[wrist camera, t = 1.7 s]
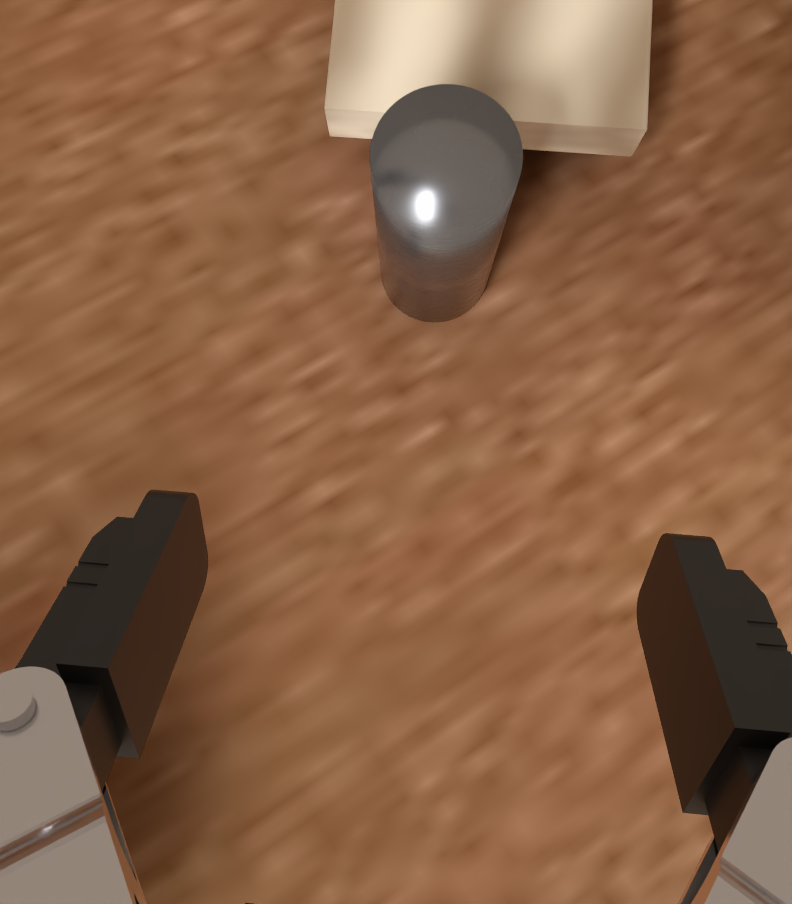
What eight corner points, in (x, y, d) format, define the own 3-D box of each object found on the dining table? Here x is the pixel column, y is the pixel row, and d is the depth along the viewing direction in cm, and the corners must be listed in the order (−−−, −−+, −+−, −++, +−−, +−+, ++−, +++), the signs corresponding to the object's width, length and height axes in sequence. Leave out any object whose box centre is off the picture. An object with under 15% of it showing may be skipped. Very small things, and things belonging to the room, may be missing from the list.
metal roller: (376, 318, 33) (363, 222, 23) (385, 215, 33) (376, 79, 23) (484, 326, 33) (518, 233, 23) (491, 222, 33) (527, 88, 23)
